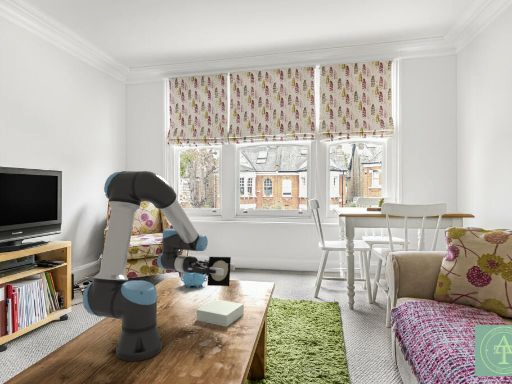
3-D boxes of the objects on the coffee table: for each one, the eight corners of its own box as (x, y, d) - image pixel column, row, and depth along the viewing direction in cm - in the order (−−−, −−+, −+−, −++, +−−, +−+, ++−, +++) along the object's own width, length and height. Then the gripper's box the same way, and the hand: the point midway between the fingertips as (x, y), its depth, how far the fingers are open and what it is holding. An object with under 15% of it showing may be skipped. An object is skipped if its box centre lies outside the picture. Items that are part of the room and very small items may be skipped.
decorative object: (210, 285, 150) (231, 286, 149) (205, 285, 140) (228, 286, 140) (212, 257, 153) (233, 258, 152) (207, 256, 144) (229, 256, 143)
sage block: (226, 327, 136) (226, 315, 136) (196, 321, 143) (196, 309, 143) (243, 315, 150) (243, 304, 150) (215, 309, 156) (215, 299, 156)
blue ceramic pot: (188, 291, 184) (189, 271, 184) (177, 283, 196) (178, 265, 195) (208, 287, 192) (209, 268, 192) (196, 280, 203) (197, 262, 203)
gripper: (200, 267, 164) (240, 272, 154) (171, 277, 144) (215, 284, 134) (200, 252, 164) (240, 256, 154) (171, 260, 144) (215, 266, 134)
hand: (228, 269), depth 144 cm, fingers closed on decorative object, 9 cm apart
